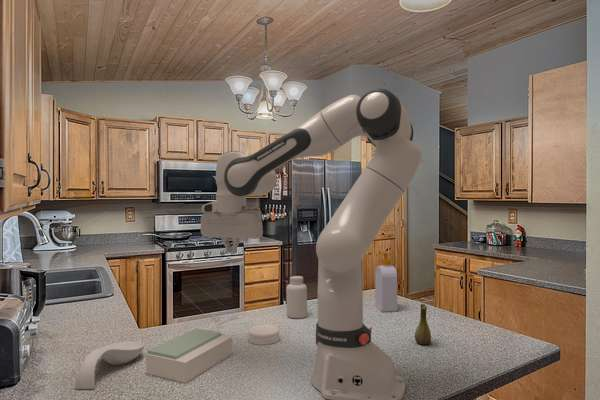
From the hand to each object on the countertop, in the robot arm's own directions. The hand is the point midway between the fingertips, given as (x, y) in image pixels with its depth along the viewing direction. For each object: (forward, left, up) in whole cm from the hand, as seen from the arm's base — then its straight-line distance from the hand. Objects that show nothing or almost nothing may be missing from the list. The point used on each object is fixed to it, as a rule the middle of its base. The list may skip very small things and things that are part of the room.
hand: (231, 252), depth 117 cm
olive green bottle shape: (-51, -29, -29) cm, 66 cm away
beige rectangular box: (+6, +12, -29) cm, 32 cm away
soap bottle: (-32, -62, -29) cm, 76 cm away
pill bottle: (-3, -39, -29) cm, 49 cm away
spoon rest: (+22, +23, -30) cm, 44 cm away
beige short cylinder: (-4, -12, -30) cm, 32 cm away
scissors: (+19, -19, -30) cm, 40 cm away
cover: (+7, +12, -24) cm, 28 cm away
